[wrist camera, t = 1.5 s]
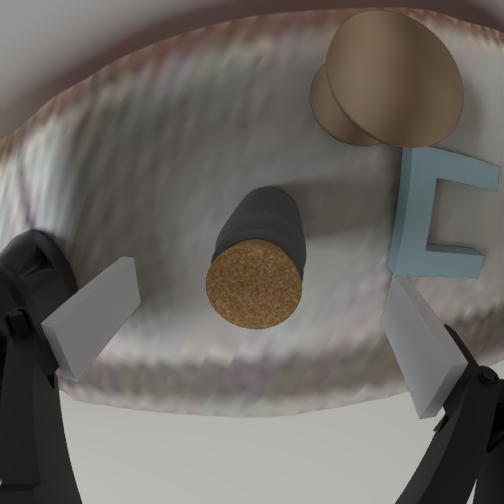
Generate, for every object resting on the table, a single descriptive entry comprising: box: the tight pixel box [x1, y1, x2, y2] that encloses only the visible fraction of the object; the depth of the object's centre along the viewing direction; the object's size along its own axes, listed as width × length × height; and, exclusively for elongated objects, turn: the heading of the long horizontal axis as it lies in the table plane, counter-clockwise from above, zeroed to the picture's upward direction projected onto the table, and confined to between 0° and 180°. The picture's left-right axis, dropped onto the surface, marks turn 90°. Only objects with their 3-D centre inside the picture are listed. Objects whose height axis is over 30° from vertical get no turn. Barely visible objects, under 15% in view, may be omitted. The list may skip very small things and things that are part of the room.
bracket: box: [387, 146, 500, 278], centre depth 24 cm, size 12×13×2 cm
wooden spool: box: [310, 10, 463, 148], centre depth 17 cm, size 9×9×11 cm
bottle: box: [206, 187, 306, 329], centre depth 21 cm, size 6×6×15 cm
